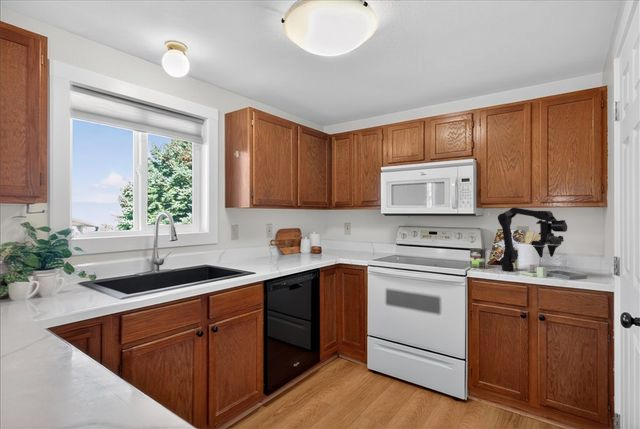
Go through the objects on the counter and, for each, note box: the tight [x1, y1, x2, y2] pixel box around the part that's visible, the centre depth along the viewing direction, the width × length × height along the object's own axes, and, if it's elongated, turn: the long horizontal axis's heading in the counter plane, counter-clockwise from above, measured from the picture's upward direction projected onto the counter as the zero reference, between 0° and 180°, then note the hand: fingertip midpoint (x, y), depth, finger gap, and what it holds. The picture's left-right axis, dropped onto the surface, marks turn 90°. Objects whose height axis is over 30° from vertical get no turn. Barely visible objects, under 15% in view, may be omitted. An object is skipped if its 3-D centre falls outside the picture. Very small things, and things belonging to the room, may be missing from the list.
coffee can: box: [469, 247, 487, 271], centre depth 235 cm, size 10×10×14 cm
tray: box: [547, 269, 588, 281], centre depth 200 cm, size 18×14×3 cm
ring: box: [519, 266, 548, 278], centre depth 204 cm, size 13×9×6 cm
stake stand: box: [517, 264, 539, 278], centre depth 206 cm, size 11×11×7 cm
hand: (546, 257), depth 199 cm, fingers open, 9 cm apart
